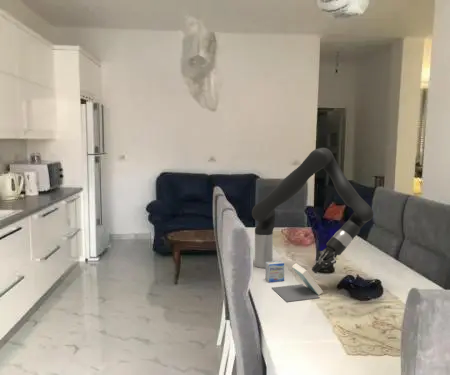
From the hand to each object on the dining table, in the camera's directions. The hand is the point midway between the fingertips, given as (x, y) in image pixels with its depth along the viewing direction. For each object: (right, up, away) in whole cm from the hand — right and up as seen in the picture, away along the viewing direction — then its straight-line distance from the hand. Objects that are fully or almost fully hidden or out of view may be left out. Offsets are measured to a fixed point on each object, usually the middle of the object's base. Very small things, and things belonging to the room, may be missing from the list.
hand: (313, 271), depth 179 cm
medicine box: (-15, -7, +15) cm, 22 cm away
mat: (-8, -9, -1) cm, 12 cm away
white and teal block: (+1, -8, +1) cm, 8 cm away
